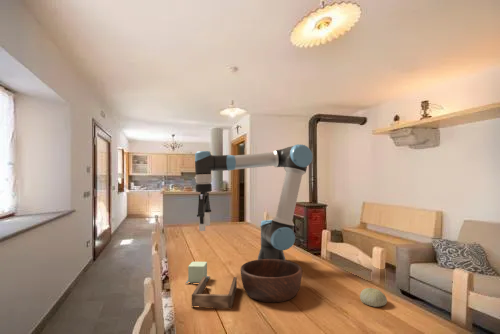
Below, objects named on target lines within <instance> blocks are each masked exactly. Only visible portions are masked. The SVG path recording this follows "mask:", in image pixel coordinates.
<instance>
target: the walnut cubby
mask: <svg viewBox="0 0 500 334" xmlns="http://www.w3.org/2000/svg"><path fill="white" fill-rule="evenodd" d="M237 279H238V278H237V276H234V277H233V278H232V282H231V285H230V287H229V291H228V294H227V293H226V294H221V293H217V294H215V293H212V294H211V293H204V292H205V290H206V288H205V287H207V283H206V277H203V278H202V279H201V281H200V283H199V284H197V286H196V288H195V289H194V291H193V292H192V294H191V307H192V306H199V307H213V308H212V309H223V308H231V309H232V308H233V305H234V299H235V295H236V292H237V287H238V286H237V284H238V283H237ZM204 289H205V290H204ZM203 291H204V292H203ZM202 293H203V294H202Z"/></svg>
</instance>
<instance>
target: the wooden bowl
mask: <svg viewBox="0 0 500 334" xmlns="http://www.w3.org/2000/svg"><path fill="white" fill-rule="evenodd" d="M302 277H303V268H302V267H301V266H300V265H299V264H298V263H296V262H293V261H290V260H286V259H285V260H280V259H259V260H258V259H255V260H251V261H247V262H245V263H244V264H242V265H241V266H240V278H241V282H242V286H243V289H244V292H246V294H247V296H249V297H250V298H252V299H253V300H255V301H258V302H262V303H263V302H264V303H282V302H287V301H290V300H291V299H293V298H294V297H296V295H297V293H298V292H299V290H300V287H301V282H302Z"/></svg>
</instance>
